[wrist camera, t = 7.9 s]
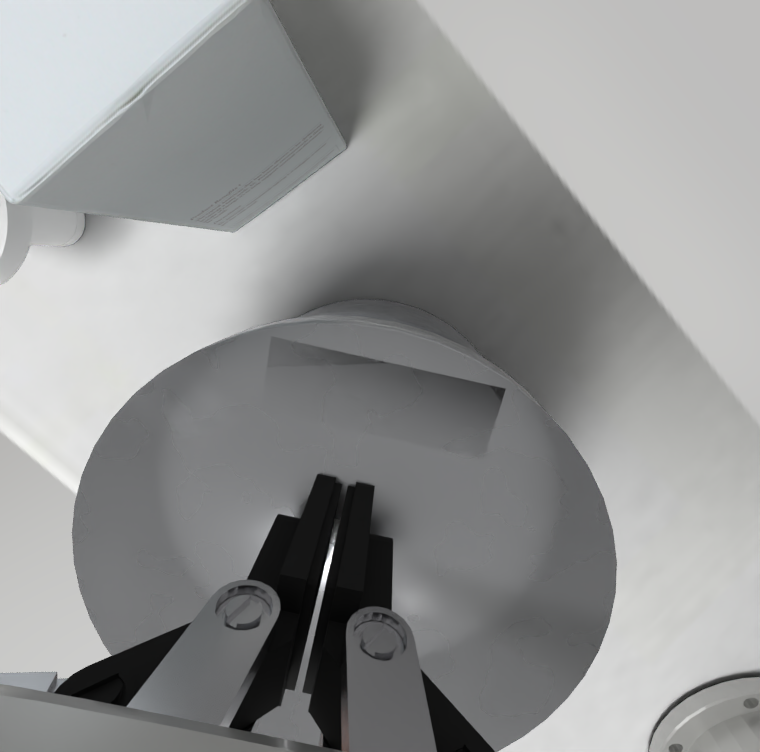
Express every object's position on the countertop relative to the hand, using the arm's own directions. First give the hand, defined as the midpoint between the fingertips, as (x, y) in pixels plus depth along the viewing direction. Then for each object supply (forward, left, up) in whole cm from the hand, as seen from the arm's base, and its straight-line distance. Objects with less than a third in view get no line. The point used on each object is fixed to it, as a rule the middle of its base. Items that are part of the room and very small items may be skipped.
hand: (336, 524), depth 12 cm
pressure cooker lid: (0, +2, -2) cm, 3 cm away
